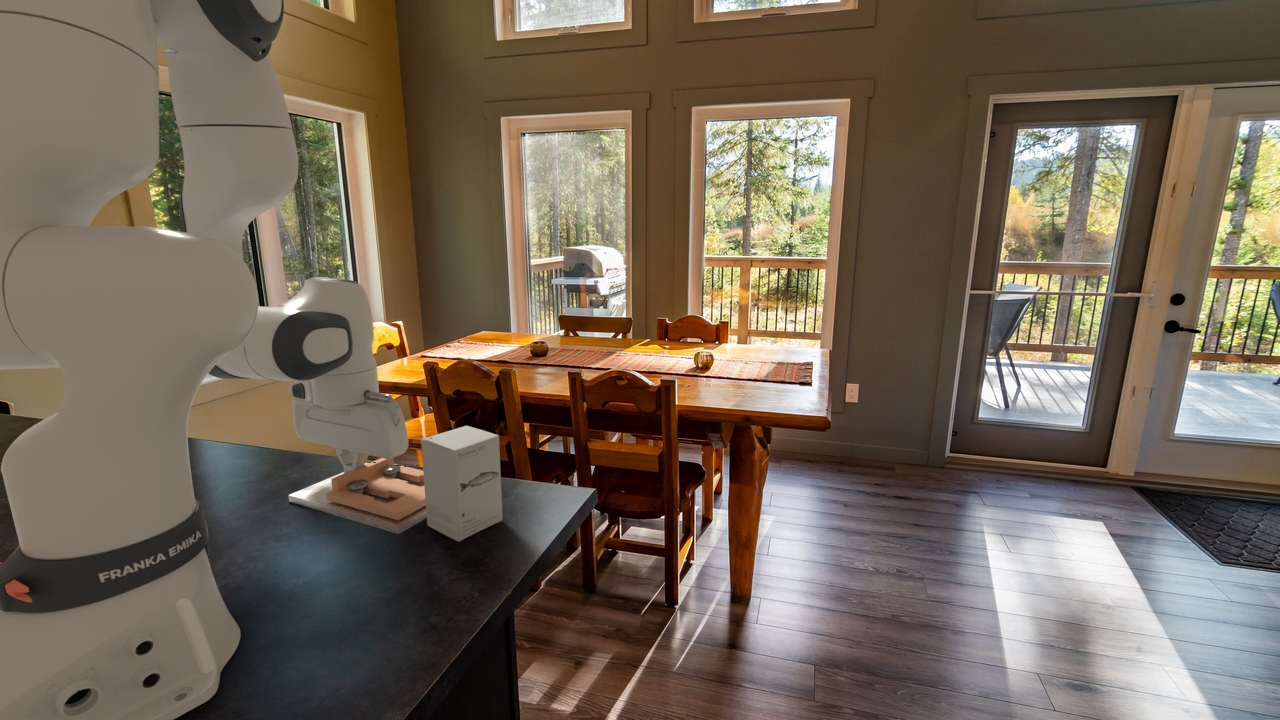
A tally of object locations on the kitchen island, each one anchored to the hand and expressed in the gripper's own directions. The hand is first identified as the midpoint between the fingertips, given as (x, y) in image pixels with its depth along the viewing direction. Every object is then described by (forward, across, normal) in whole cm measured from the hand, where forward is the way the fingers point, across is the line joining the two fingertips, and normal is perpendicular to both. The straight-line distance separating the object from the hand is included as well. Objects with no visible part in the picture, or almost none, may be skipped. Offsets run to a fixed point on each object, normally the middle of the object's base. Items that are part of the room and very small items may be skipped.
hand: (355, 475), depth 87 cm
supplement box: (+3, -22, +1) cm, 22 cm away
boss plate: (+2, -5, 0) cm, 6 cm away
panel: (+1, -8, 0) cm, 8 cm away
